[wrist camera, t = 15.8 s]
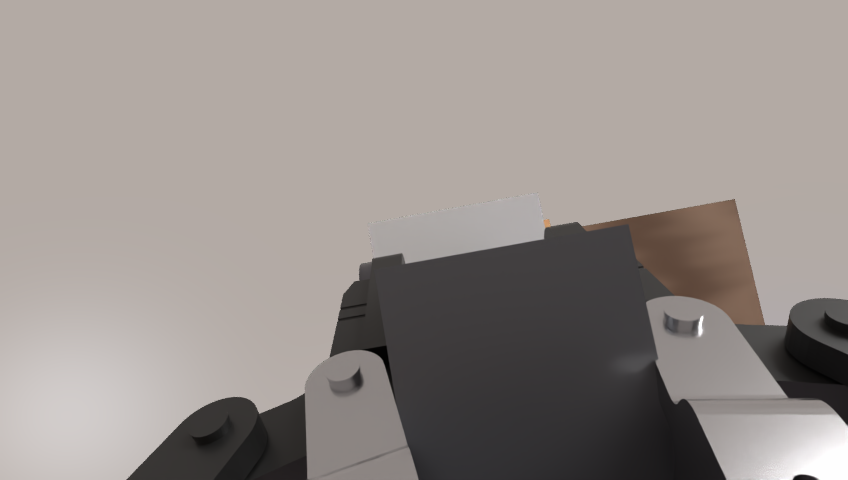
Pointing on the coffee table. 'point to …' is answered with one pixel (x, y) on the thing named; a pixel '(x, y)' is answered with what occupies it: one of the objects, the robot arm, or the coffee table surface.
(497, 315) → the action camera
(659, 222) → the walnut post
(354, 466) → the robot arm
